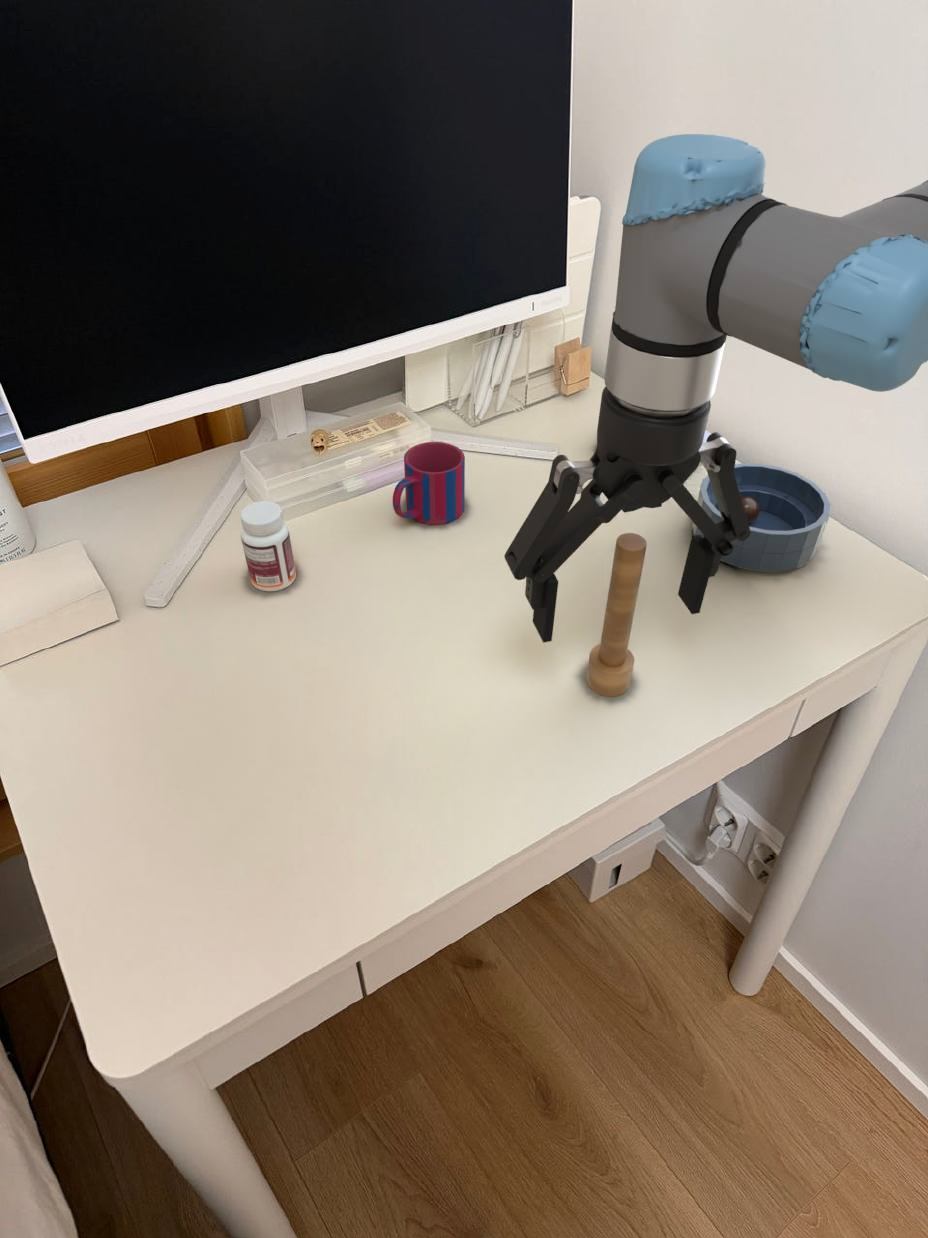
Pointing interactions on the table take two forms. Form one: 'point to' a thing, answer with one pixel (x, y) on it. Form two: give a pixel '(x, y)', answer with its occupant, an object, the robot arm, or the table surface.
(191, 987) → the table surface
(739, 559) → the bowl
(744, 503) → the bead
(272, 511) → the pill bottle
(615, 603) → the muddler
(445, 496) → the mug
